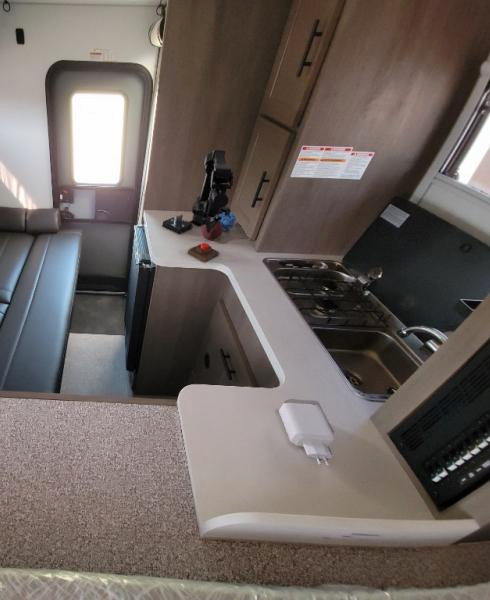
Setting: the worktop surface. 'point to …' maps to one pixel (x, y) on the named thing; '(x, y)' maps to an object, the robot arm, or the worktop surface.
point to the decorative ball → (213, 232)
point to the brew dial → (178, 219)
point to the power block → (203, 253)
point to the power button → (204, 246)
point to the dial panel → (177, 226)
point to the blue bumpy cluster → (227, 221)
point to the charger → (308, 429)
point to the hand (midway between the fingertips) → (208, 232)
